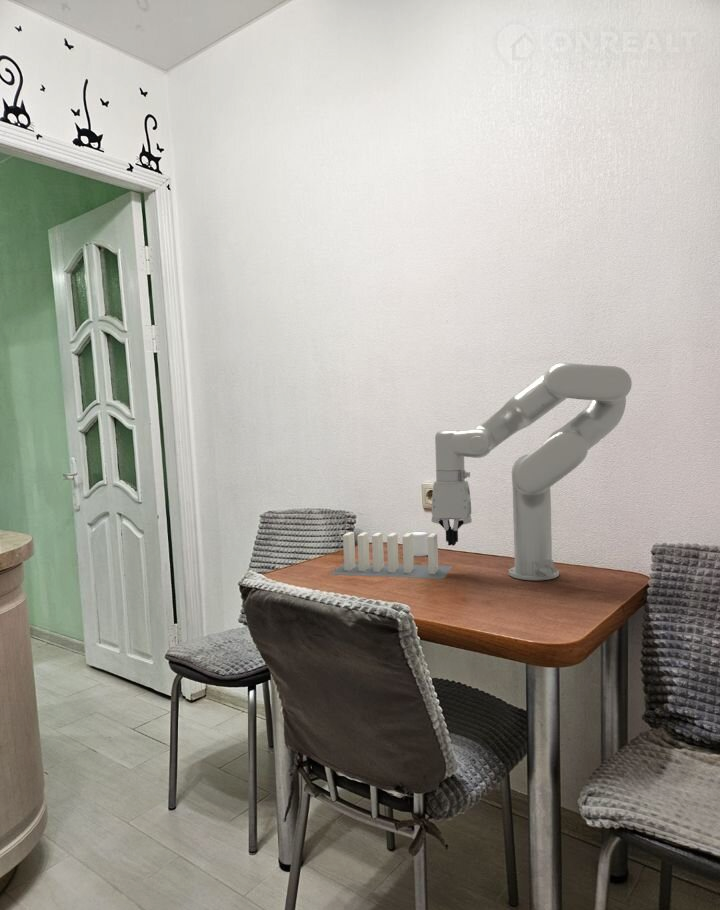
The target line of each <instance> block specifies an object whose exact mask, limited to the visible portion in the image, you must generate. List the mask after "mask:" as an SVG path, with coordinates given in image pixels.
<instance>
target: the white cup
mask: <svg viewBox="0 0 720 910" xmlns="http://www.w3.org/2000/svg"><path fill="white" fill-rule="evenodd" d="M408 533H413V556H414V557H425V556H428V536H429V535H430V533H429V532H428V531H419V530H417V531H410V532H408Z"/></svg>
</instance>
